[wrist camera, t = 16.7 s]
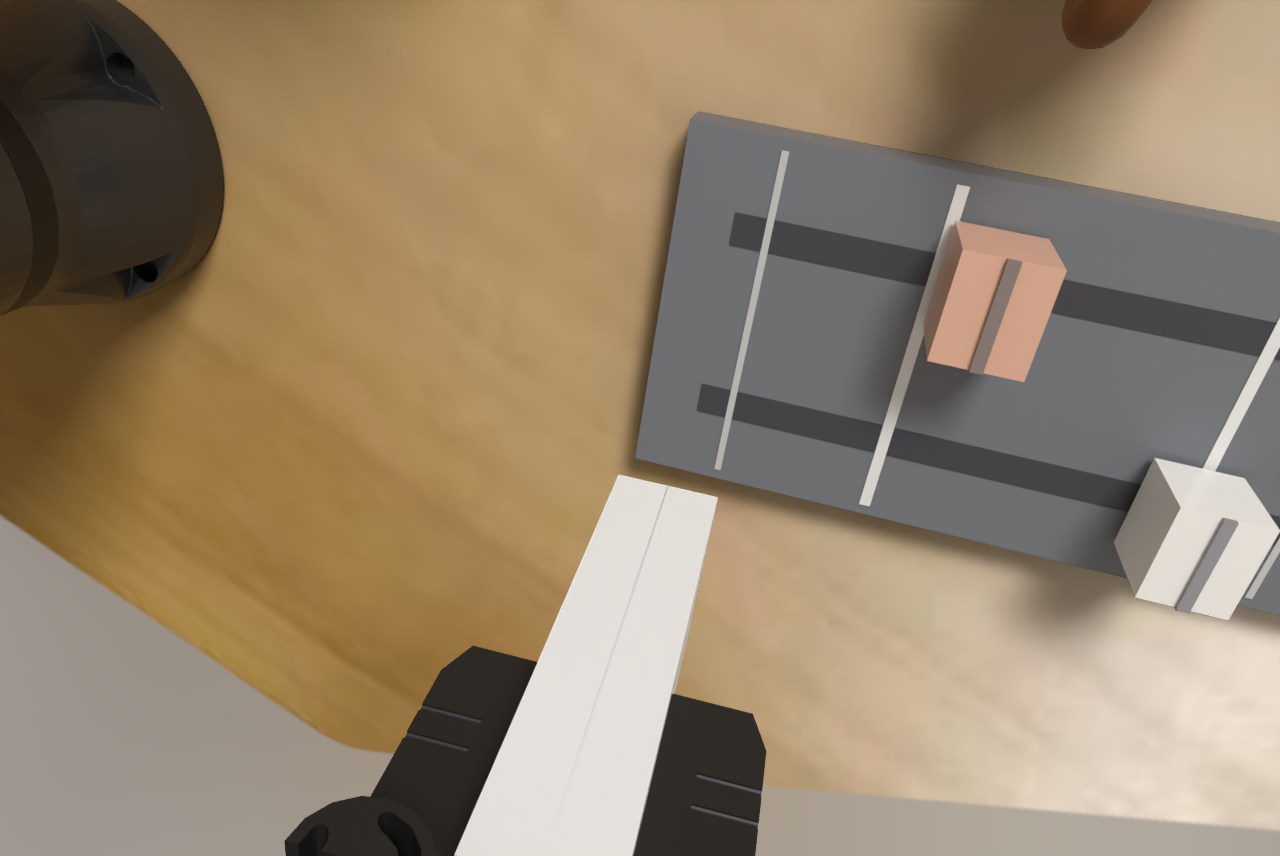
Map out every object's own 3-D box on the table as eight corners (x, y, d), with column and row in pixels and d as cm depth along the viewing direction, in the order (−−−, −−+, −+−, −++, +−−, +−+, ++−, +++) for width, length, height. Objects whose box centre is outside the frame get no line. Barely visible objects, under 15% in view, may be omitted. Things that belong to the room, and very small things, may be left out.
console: (644, 439, 47) (634, 458, 45) (698, 111, 39) (689, 119, 37) (1320, 601, 43) (1339, 630, 41) (1530, 270, 35) (1565, 288, 33)
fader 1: (922, 323, 39) (927, 362, 35) (955, 220, 37) (963, 250, 33) (1011, 342, 38) (1024, 384, 35) (1049, 239, 36) (1068, 271, 32)
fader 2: (1113, 542, 41) (1136, 600, 38) (1154, 457, 39) (1182, 510, 35) (1198, 562, 41) (1230, 623, 37) (1244, 478, 39) (1282, 533, 35)
